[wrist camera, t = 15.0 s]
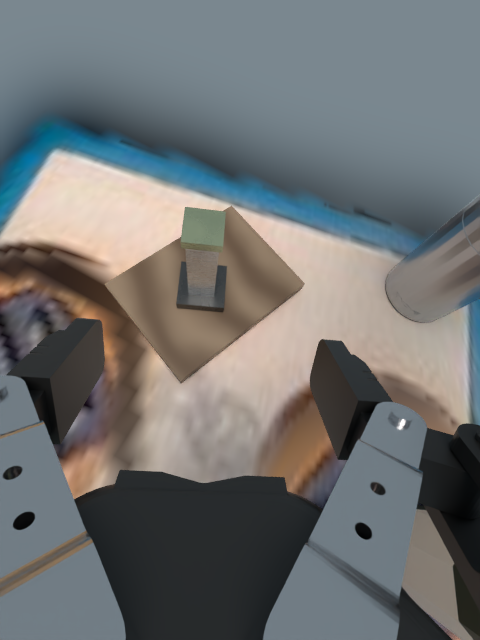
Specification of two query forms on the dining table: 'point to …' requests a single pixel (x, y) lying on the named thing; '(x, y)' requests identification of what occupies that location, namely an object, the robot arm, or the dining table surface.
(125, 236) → the dining table surface
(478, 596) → the robot arm
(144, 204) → the dining table surface
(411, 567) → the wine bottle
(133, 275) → the serving board
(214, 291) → the square capped column
